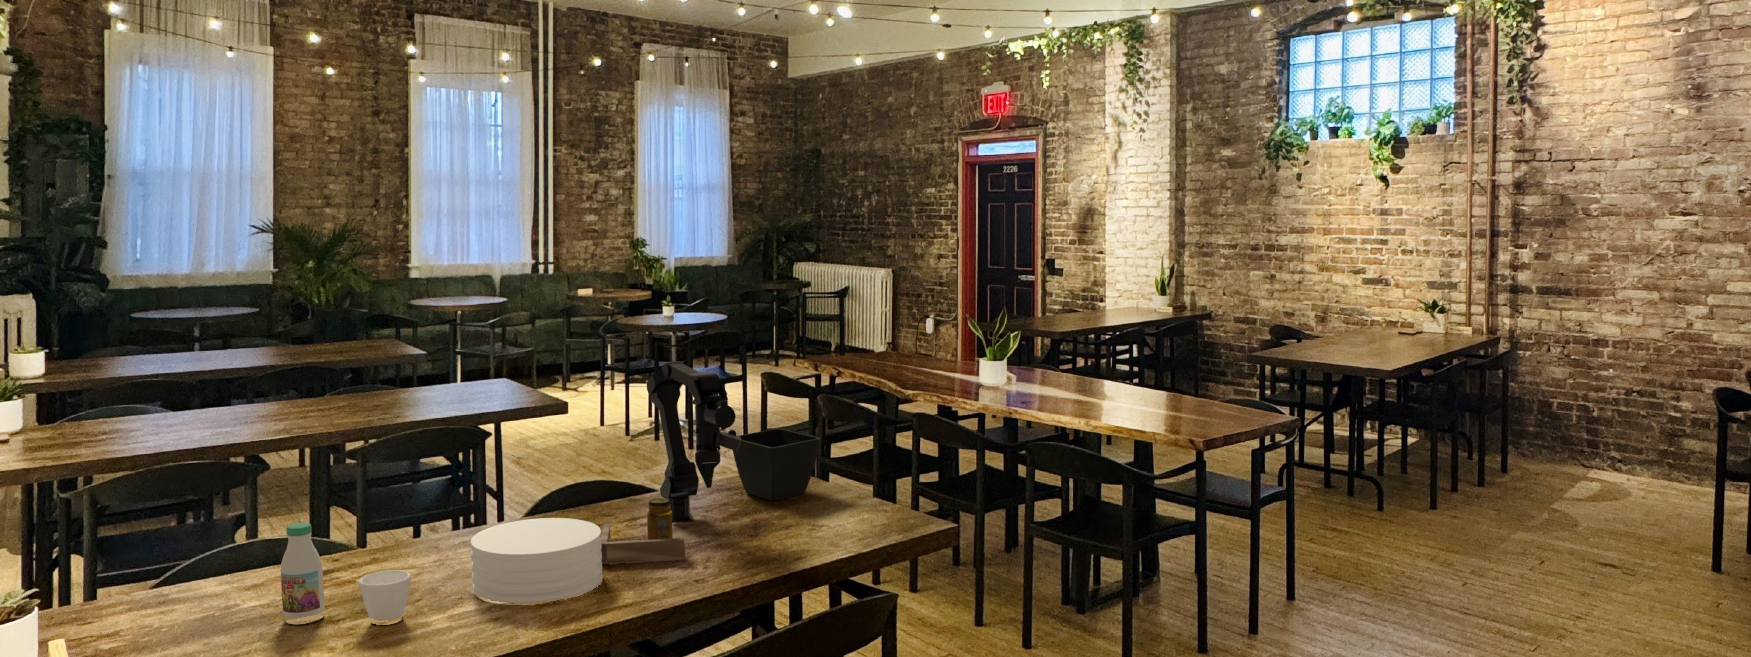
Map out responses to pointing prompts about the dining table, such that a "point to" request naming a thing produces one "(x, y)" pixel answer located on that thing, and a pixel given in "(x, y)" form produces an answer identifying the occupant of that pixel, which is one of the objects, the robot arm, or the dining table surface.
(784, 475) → the flower pot
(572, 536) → the plate stack
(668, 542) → the corner arena
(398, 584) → the cup
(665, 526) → the condiment
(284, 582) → the milk bottle
